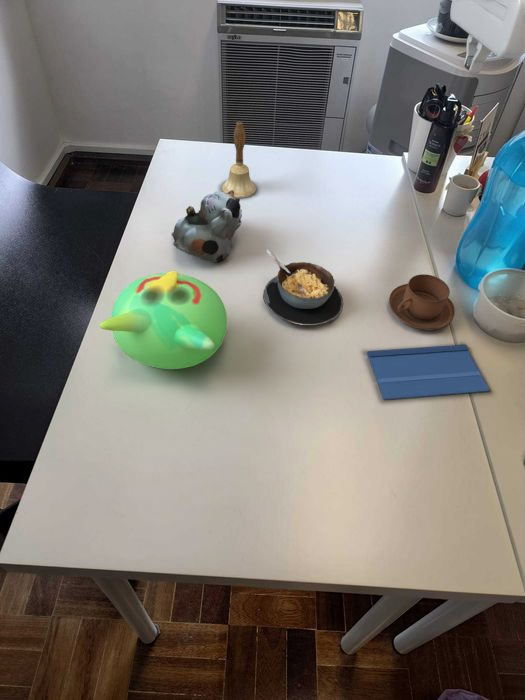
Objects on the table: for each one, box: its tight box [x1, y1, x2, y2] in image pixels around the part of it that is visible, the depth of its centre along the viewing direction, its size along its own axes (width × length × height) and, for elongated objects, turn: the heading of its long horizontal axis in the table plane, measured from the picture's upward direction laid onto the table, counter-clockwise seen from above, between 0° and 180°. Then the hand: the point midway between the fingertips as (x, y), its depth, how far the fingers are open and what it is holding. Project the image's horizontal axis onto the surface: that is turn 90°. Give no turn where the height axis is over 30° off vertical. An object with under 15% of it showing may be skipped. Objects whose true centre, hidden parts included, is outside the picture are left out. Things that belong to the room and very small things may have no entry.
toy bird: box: [99, 270, 228, 370], centre depth 74 cm, size 18×17×15 cm
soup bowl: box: [262, 249, 344, 326], centre depth 86 cm, size 15×16×7 cm
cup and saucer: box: [388, 273, 456, 331], centre depth 86 cm, size 12×12×6 cm
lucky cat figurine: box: [170, 190, 243, 263], centre depth 94 cm, size 15×12×14 cm
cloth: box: [366, 344, 491, 401], centre depth 79 cm, size 18×10×1 cm, turn 97°
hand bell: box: [221, 120, 257, 199], centre depth 108 cm, size 8×8×16 cm
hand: (470, 70), depth 78 cm, fingers closed
